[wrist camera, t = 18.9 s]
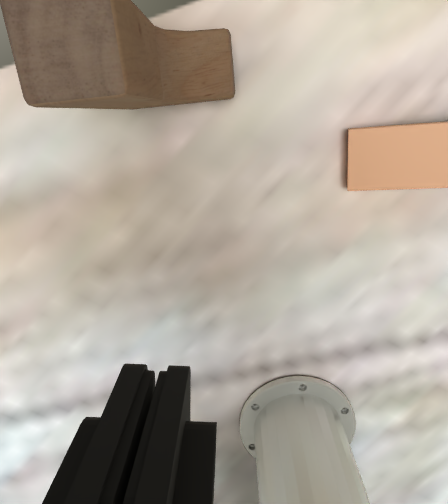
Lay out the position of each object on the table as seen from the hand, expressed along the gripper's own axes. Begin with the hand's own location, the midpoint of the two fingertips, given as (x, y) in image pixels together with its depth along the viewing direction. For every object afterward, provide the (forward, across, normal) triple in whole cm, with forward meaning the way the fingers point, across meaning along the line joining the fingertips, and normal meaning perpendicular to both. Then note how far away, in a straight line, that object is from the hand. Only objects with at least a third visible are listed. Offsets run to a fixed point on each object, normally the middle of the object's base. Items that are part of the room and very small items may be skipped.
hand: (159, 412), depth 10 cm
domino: (+26, -12, -4) cm, 29 cm away
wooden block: (+27, +3, -10) cm, 29 cm away
